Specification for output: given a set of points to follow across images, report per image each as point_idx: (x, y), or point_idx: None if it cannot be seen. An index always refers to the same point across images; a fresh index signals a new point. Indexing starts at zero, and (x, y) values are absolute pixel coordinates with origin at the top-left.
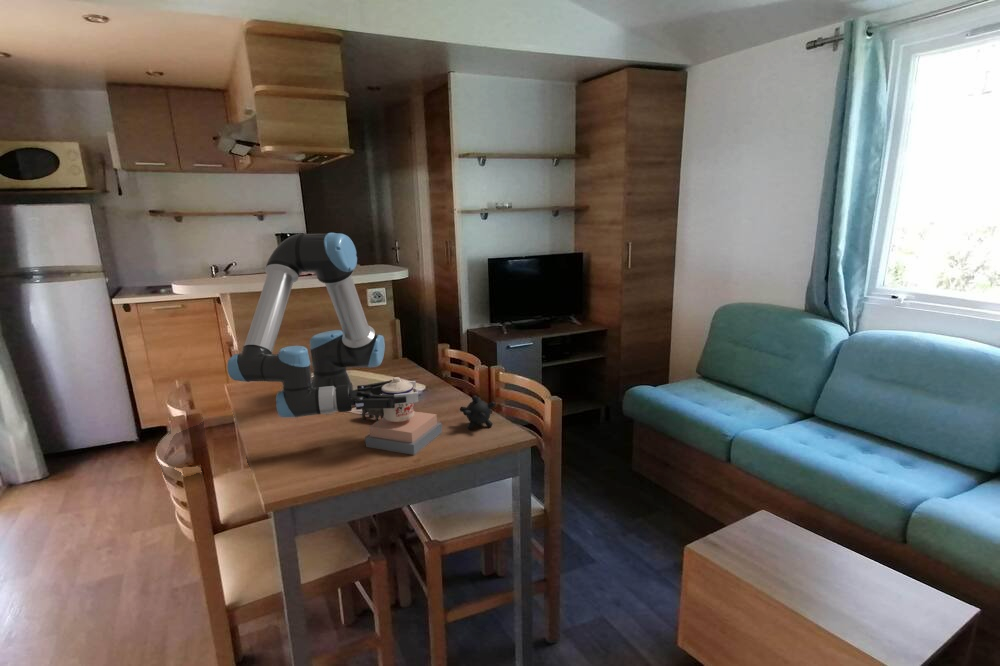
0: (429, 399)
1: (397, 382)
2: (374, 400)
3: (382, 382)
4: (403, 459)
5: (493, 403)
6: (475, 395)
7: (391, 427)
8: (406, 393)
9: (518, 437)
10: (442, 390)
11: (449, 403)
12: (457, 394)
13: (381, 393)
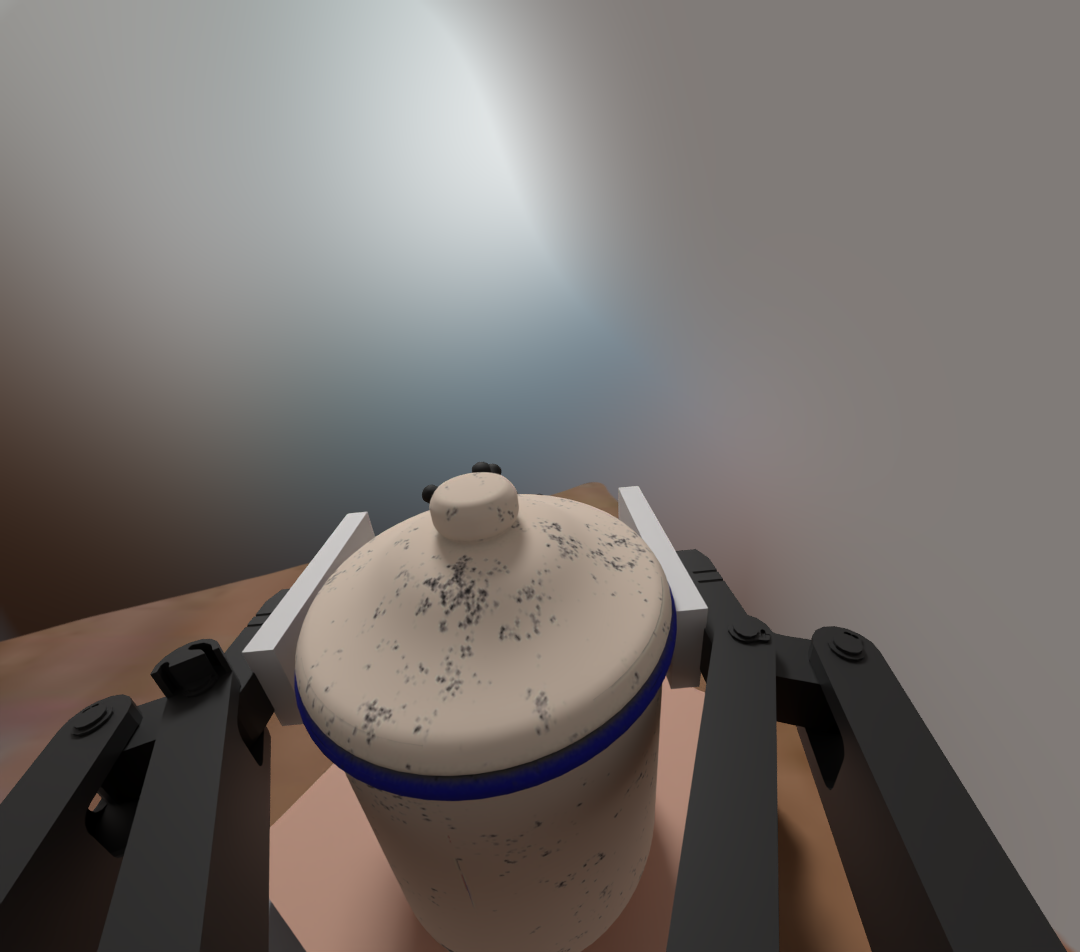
0: (59, 711)
1: (521, 518)
2: (1047, 925)
3: (16, 819)
4: (838, 860)
5: (498, 466)
6: (479, 462)
7: (662, 892)
8: (649, 532)
9: (596, 498)
10: (29, 655)
11: (214, 630)
12: (153, 605)
13: (262, 896)
